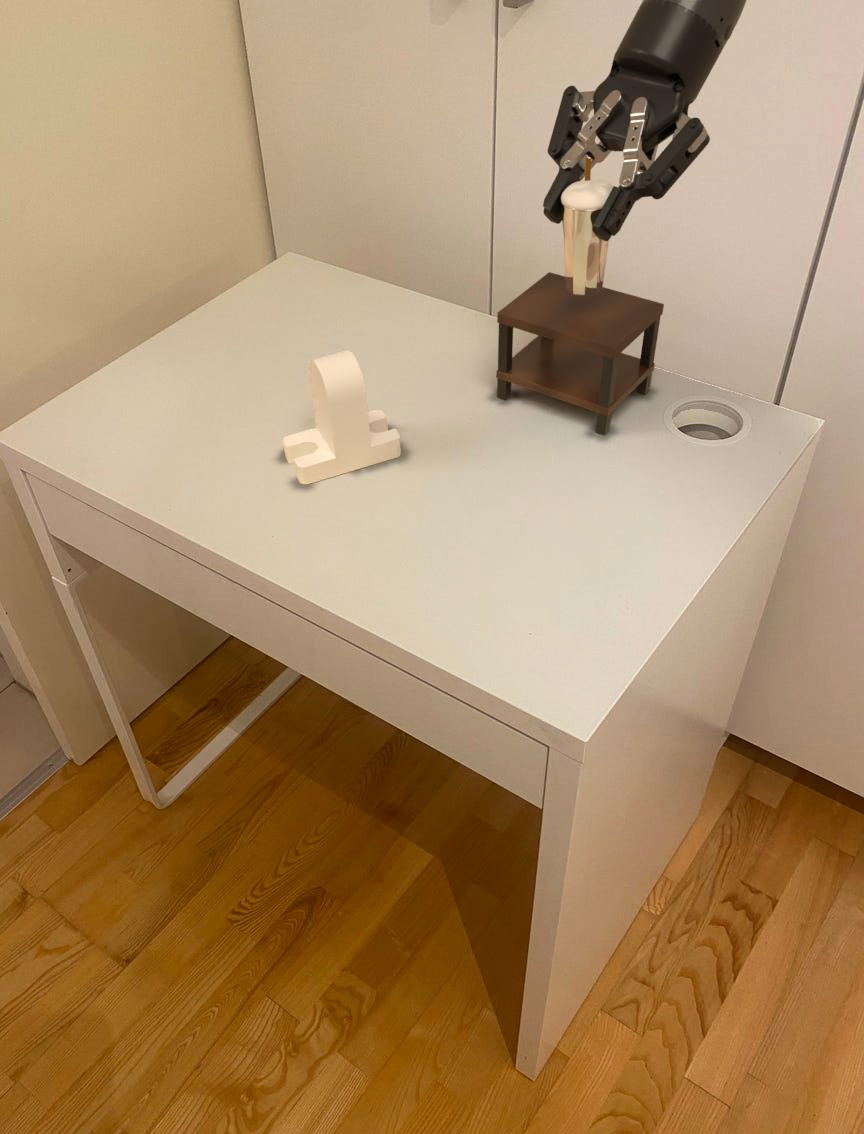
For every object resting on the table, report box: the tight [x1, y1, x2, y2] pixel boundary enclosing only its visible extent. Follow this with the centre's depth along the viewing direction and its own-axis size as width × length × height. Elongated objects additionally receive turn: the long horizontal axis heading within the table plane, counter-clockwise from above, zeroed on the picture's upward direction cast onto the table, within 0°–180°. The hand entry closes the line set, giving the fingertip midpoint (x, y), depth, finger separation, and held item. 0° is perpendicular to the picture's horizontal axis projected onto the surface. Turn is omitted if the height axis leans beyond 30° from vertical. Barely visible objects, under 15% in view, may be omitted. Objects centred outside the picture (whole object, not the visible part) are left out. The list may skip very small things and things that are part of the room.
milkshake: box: [561, 158, 615, 297], centre depth 85 cm, size 4×5×10 cm
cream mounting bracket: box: [282, 349, 402, 485], centre depth 88 cm, size 5×10×10 cm, turn 112°
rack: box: [495, 271, 665, 436], centre depth 93 cm, size 12×9×9 cm
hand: (575, 226), depth 83 cm, fingers closed on milkshake, 4 cm apart
